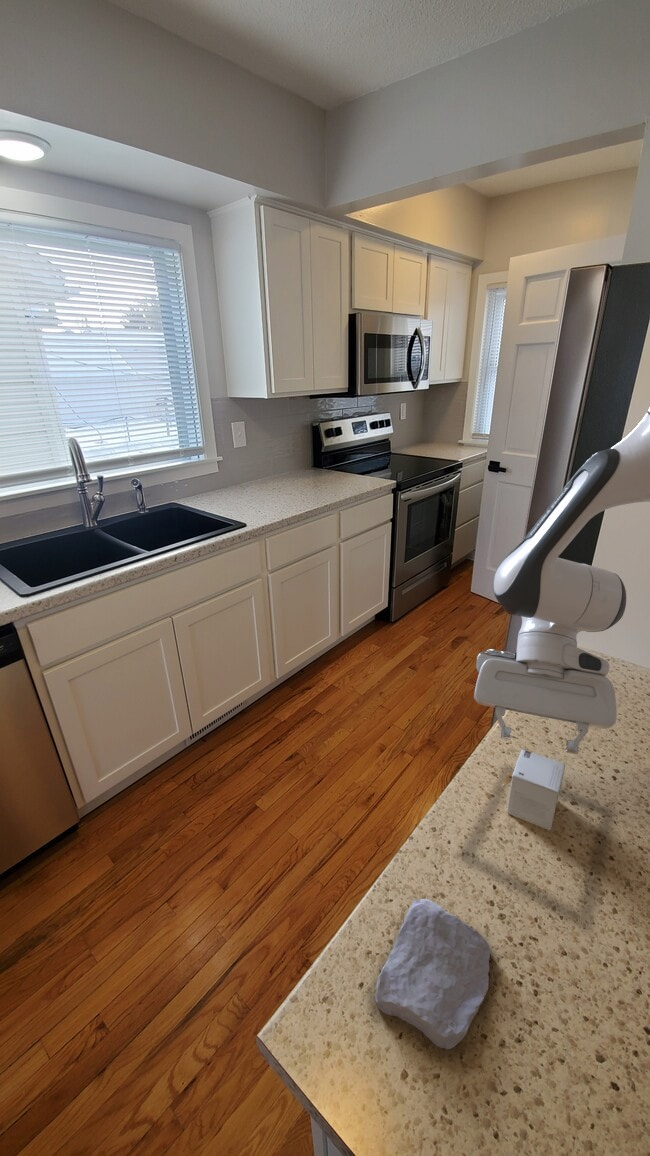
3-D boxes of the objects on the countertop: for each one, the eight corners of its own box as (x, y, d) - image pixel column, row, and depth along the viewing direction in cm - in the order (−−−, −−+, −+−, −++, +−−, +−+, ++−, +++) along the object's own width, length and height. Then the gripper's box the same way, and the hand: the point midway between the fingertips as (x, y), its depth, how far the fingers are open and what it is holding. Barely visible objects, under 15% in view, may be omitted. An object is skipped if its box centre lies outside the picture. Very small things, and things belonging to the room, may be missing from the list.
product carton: (551, 832, 67) (559, 793, 64) (505, 813, 70) (511, 775, 67) (557, 800, 71) (566, 763, 68) (515, 784, 74) (521, 747, 72)
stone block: (489, 958, 56) (409, 904, 59) (502, 939, 53) (418, 884, 57) (456, 1081, 47) (365, 1007, 50) (470, 1065, 44) (373, 988, 48)
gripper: (478, 642, 79) (466, 729, 75) (621, 664, 72) (618, 761, 68) (478, 651, 85) (467, 732, 80) (611, 672, 78) (607, 762, 73)
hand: (537, 746), depth 74 cm, fingers open, 8 cm apart
